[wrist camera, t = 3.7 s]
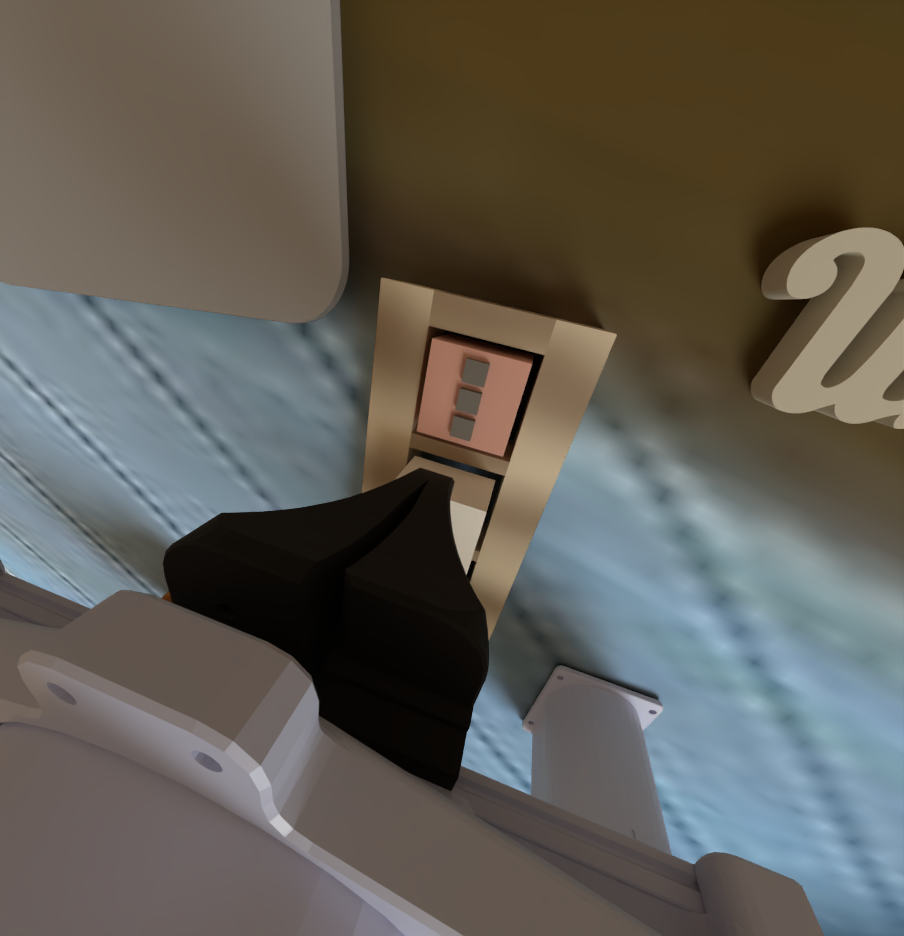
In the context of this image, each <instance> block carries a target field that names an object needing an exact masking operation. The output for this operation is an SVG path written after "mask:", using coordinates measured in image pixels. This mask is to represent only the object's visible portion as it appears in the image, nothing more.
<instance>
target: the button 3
mask: <svg viewBox="0 0 904 936" xmlns="http://www.w3.org/2000/svg"><path fill="white" fill-rule="evenodd" d="M533 358H534V355H533V354H529V353H525V352H521V351H517V350H513V349H509V348H505V347H501V346H497V345H493V344H490V343H486V342H482V341H478V340H474V339H470V338H466V337H462V336H458V335H454V334H450V333H449V334H445V335H442V336H438V337H435V338H432V343H431V348H430V354H429V360H428V366H427V372H426V378H425V384H424V390H423V396H422V402H421V408H420V414H419V420H418V426H417V432H421V433H424V434H428V435H431V436H434V437H438V438H441V439H444V440H448V441H451V442H455V443H458V444H461V445H465V446H468V447H471V448H475V449H478V450H482V451H485V452H488V453H492V454H495V455H498V456H502V457H503V455H504V452H505V449H506V446H507V443H508V439H509V436H510V433H511V430H512V427H513V424H514V420H515V417H516V414H517V411H518V408H519V405H520V401H521V398H522V395H523V392H524V389H525V386H526V382H527V379H528V376H529V373H530V370H531V366H532V363H533Z"/></svg>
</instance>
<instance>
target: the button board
mask: <svg viewBox="0 0 904 936" xmlns="http://www.w3.org/2000/svg"><path fill="white" fill-rule="evenodd" d="M444 330H448V331H452V332H456V333H460V334H463V335H467V336H471V337H475V338H479V339H483V340H487V341H491V342H495V343H499V344H503V345H507V346H511V347H514V348H518V349H522V350H526V351H530V352H534V353H538V354H542V357H541V360H540V363H539V366H538V369H537V373H536V376H535V379H534V382H533V385H532V388H531V391H530V394H529V397H528V400H527V403H526V406H525V409H524V413H523V416H522V419H521V422H520V425H519V428H518V431H517V434H516V437H515V440H514V441H513V440H509V439H508V443H507V446H506V449H505V452H504V455H503V457H502V456H498V455H495V454H492V453H488V452H485V451H482V450H478V449H475V448H471V447H468V446H465V445H461V444H458V443H455V442H451V441H448V440H444V439H441V438H438V437H434V436H431V435H428V434H424V433H421V432H417V426H418V420H419V414H420V408H421V402H422V396H423V390H424V384H425V378H426V372H427V366H428V360H429V354H430V348H431V343H432V338H435V337H438V336H442V335H444ZM616 336H617V334H615V333H613V332H610V331H607V330H605V329H601V328H596V327H592V326H588V325H584V324H580V323H576V322H571V321H567V320H563V319H559V318H555V317H551V316H546V315H542V314H538V313H534V312H530V311H526V310H522V309H517V308H513V307H509V306H505V305H501V304H497V303H492V302H488V301H484V300H480V299H476V298H472V297H467V296H463V295H459V294H455V293H451V292H447V291H442V290H438V289H434V288H430V287H426V286H422V285H417V284H413V283H409V282H404V281H399V280H393V279H387V278H382V277H381V285H380V296H379V307H378V318H377V329H376V340H375V351H374V362H373V373H372V384H371V395H370V406H369V416H368V427H367V438H366V449H365V460H364V471H363V482H362V493H364V492H366V491H369V490H372V489H374V488H377V487H379V486H382V485H384V484H387V483H389V482H391V481H393V480H395V479H396V477H397V476H398V475H399V474H400V473H401V472H402V470H403V469H404V468H405V467H406V466H407V465H408V463H409V462H410V461H411V460H412V459H413V458H414V456H417V457H421V456H422V451H424V452H427V453H431V454H434V455H437V456H441V457H444V458H447V459H450V460H454V461H457V462H460V463H464V464H467V465H470V466H474V467H477V468H480V469H483V470H487V471H490V472H493V473H497V474H500V475H503V477H502V480H501V483H500V486H499V489H498V492H497V495H496V499H495V502H494V505H493V508H492V511H491V514H490V517H489V520H488V523H487V522H483V525H482V528H481V532H480V535H479V538H478V541H477V544H476V547H475V550H474V554H473V557H472V561H475V563H474V566H473V569H472V572H471V575H470V578H469V582H470V584H471V586H472V588H473V590H474V592H475V594H476V595H477V597H478V599H479V601H480V602H481V604H482V606H483V607H484V609H485V611H486V619H487V627H488V638H489V640H490V637H491V635H492V633H493V630H494V628H495V625H496V623H497V621H498V618H499V616H500V613H501V611H502V609H503V606H504V604H505V601H506V599H507V597H508V594H509V592H510V589H511V587H512V585H513V582H514V580H515V577H516V575H517V573H518V570H519V568H520V565H521V563H522V561H523V558H524V556H525V554H526V551H527V549H528V546H529V544H530V542H531V539H532V537H533V534H534V532H535V530H536V527H537V525H538V522H539V520H540V518H541V515H542V513H543V510H544V508H545V506H546V503H547V501H548V498H549V496H550V494H551V491H552V489H553V486H554V484H555V482H556V479H557V477H558V474H559V472H560V470H561V467H562V465H563V463H564V460H565V458H566V455H567V453H568V451H569V448H570V446H571V443H572V441H573V439H574V436H575V434H576V431H577V429H578V427H579V424H580V422H581V419H582V417H583V415H584V412H585V410H586V407H587V405H588V403H589V400H590V398H591V395H592V393H593V391H594V388H595V386H596V383H597V381H598V379H599V376H600V374H601V372H602V369H603V367H604V364H605V362H606V360H607V357H608V355H609V352H610V350H611V348H612V345H613V343H614V340H615V338H616Z"/></svg>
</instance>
